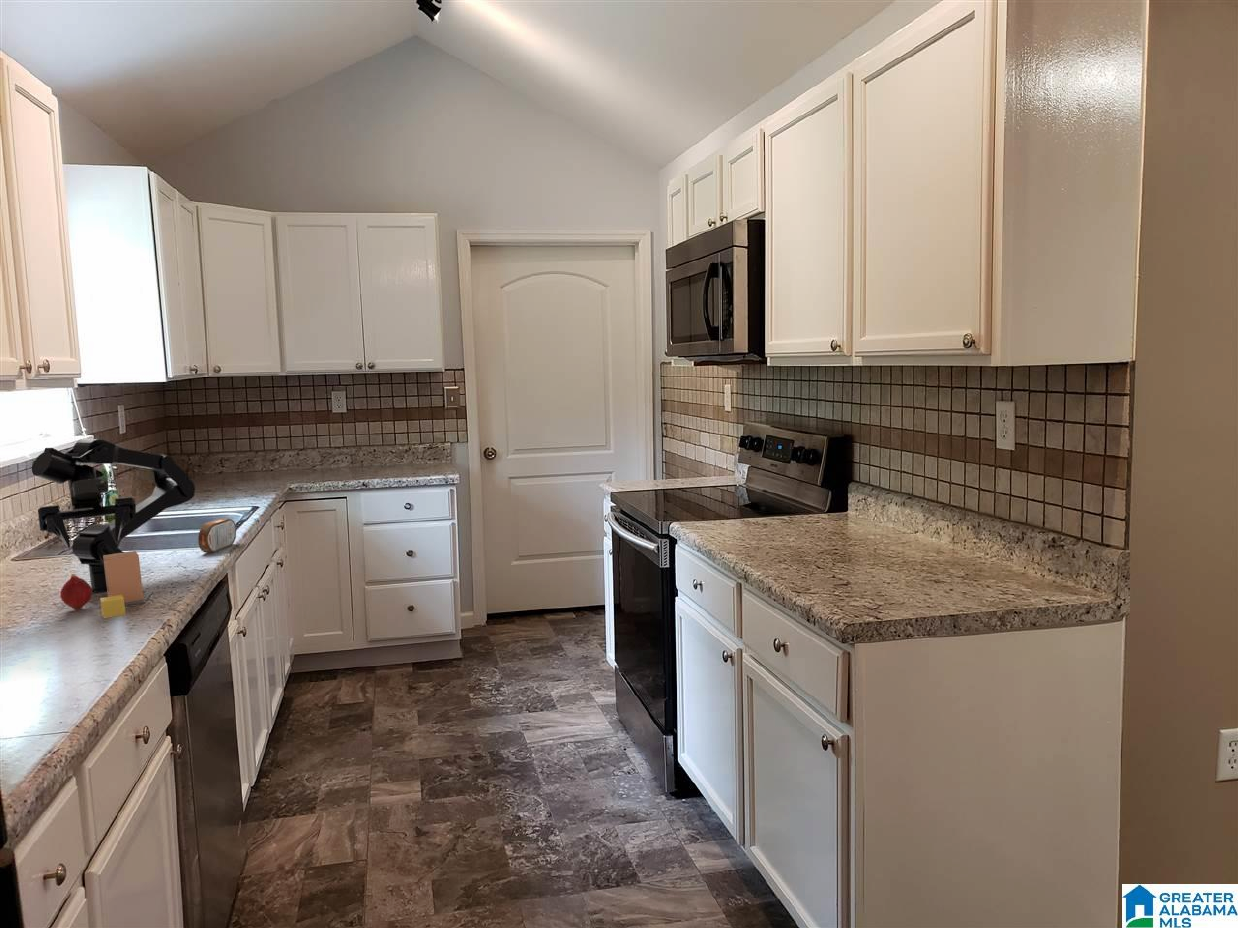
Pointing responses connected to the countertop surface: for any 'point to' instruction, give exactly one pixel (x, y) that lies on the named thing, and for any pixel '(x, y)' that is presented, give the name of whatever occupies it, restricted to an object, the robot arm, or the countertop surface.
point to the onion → (76, 592)
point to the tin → (217, 535)
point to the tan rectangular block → (123, 575)
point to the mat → (145, 596)
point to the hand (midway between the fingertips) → (93, 543)
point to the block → (112, 606)
